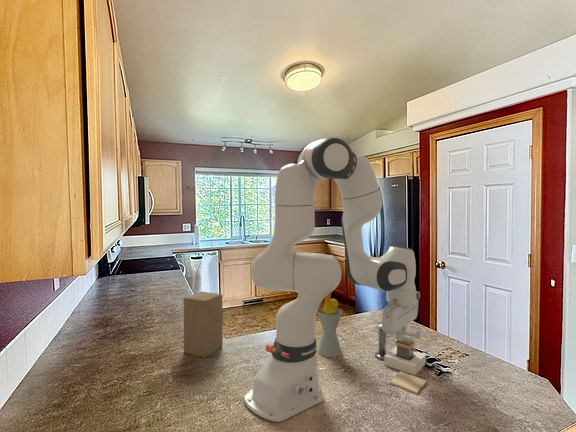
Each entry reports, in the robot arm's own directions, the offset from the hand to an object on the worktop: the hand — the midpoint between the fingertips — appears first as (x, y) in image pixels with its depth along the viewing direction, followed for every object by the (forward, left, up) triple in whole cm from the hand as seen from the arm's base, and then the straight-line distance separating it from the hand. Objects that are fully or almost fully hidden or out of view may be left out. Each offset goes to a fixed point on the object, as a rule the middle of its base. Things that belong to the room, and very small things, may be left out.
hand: (400, 339), depth 99 cm
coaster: (-6, -5, -10) cm, 13 cm away
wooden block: (-35, +59, -10) cm, 69 cm away
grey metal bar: (+4, +2, 0) cm, 5 cm away
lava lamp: (-5, +24, -10) cm, 27 cm away
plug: (+4, 0, -10) cm, 11 cm away
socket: (+4, 0, -10) cm, 11 cm away
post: (+4, +8, -10) cm, 13 cm away
